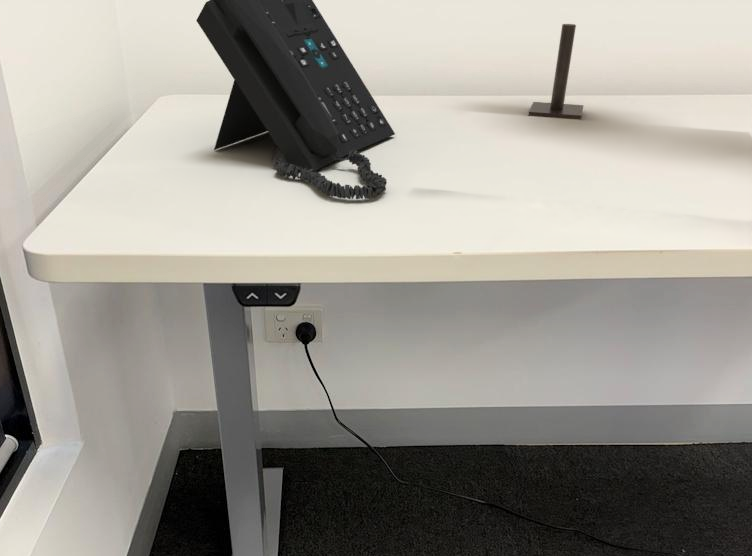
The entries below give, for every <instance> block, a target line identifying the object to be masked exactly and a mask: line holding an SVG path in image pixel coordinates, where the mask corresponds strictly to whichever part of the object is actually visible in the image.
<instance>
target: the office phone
mask: <svg viewBox="0 0 752 556" xmlns="http://www.w3.org/2000/svg"><path fill="white" fill-rule="evenodd" d="M195 21H196V23H197V24H198V26H199V27H200V29H201V31H202V32H203V33H204V35H205V37H206V38H207V40H208V41H209V43H210V44H211V46H212V47H213V49H214V51H215V52H216V53H217V55H218V56H219V58H220V59H221V61H222V63H223V64H224V66H225V67H226V69H227V71H228V72H229V74H230V75H231V77H232V78H233V83H232V87H231V90H230V94H229V97H228V100H227V104H226V107H225V110H224V115H223V118H222V121H221V125H220V128H219V131H218V134H217V138H216V142H215V144H214V148H213V151H216V150H219V149H222V148H224V147H227V146H230V145H233V144H235V143H239V142H242V141H244V140H247V139H250V138H253V137H256V136H259V135H262V134H264V133H267V132H268V134H269V136H270V137H271V139H272V140H273V141H274V147H273V151H272V157H271V162H272V164H273V165H274V170H275V171H276V172H277V175H279V176H280V177H282V176H283V177H286V179H288V178H290V177H292V179H293V181H294V180H295V179H296V178H297V179H300V181H302V182H305V181H306V182H308V183H311V185H313V186H314V187H316V188H317V191H320V192H321V193H322V194H324V195H326V196H328V197H331V198H333V197H334V198H335V197H337V198H338V199H344V200H345V199H349V200H353V199H354V198H355V200H359V199H361V200H363V199H364V200H371V199H372V198H377V197H378V196H379V195H380V194H381V193H383V192H385V191H387V187H386V186H387V183H388V181H387V178H386V177H385V176H383V174H379V172H374V171H373V170H372V169H371V166H372V163H371V162H370V159H369V158H368V157H367V156H366V155H365V154H361V153H359V150H361V149H364V148H366V147H369V146H371V145H373V144H375V143H376V144H377V142H381V141H382V140H385V139H387V138H390V137H393V136H394V135H396V133H395V131H394V129H393V128H392V126H391V125H390V123H389V122H388V120H387V118H386V117H385V115H384V113H383V112H382V110H381V108H380V107H379V105H378V104H377V102H376V101H375V99H374V96H373V95H372V94H371V92H370V91H369V89H368V87H367V86H366V85H365V83H364V81H363V79H362V78H361V76H360V74H359V73H358V71H357V70H356V68H355V67H354V65H353V63H352V62H351V60H350V58H349V57H348V55H347V53H346V52H345V51H344V48H343V47H342V45H341V44H340V43H339V41H338V39H337V38H336V35H334V33H333V31H332V29H331V27H330V26H329V24H328V23H327V22H326V20H325V18H324V16H323V15H322V13H321V12H320V10H319V8H318V7H317V5H316V4H315V2H314V0H207V1H206V2H205V3H204V5H203V7H202V9H201V10H200V13H199V15H198V17H197V18H196V20H195ZM241 140H242V141H241ZM276 147H277V148H278V150H279V151H280V153H281V154H282V156H283V157H282V158H279V159H278V157H277V155H276V149H277V148H276ZM345 156H347V157H346V158H343V157H345ZM336 161H349V163H351V165H355V166H356V167H357V173H358V175H359V177H360V178H361V180H362V181H364V183H366V185H363V186H360V185H359V184H356V185H354V186H352V185H350V184H344V185H341V184H340V182H333V181H332V180H330V179H328V178H326V176H325V175H322V173H320V171H317V170H319V169H321V168H324V167H325V166H328V165H329V164H331V163H334V162H336Z"/></svg>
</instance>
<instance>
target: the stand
mask: <svg viewBox="0 0 752 556" xmlns="http://www.w3.org/2000/svg"><path fill="white" fill-rule="evenodd" d="M576 28H577V24H574V23H562V25H561V31H560V37H559V43H558V44H559V45H558V51H557V58H556V66H555V72H554V79H553V87H552V91H551V92H552V93H551V100H550V102H544V101H532V104H531V106H530V108H529V111H528V114H527V117H535V118H537V117H538V118H548V119H549V118H550V119H561V120H563V119H564V120H575V121H581V120H582V115H583V110H584V105H583V104H574V103H573V104H571V103H565V99H566V93H567V92H566V91H567V87H568V86H567V85H568V78H569V74H570V73H569V72H570V66H571V60H572V55H573V54H572V53H573V47H574V40H575V34H576Z"/></svg>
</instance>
